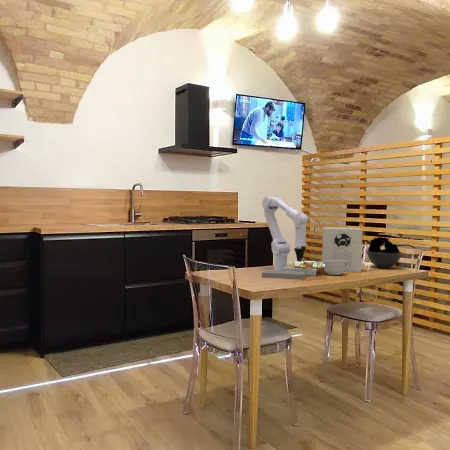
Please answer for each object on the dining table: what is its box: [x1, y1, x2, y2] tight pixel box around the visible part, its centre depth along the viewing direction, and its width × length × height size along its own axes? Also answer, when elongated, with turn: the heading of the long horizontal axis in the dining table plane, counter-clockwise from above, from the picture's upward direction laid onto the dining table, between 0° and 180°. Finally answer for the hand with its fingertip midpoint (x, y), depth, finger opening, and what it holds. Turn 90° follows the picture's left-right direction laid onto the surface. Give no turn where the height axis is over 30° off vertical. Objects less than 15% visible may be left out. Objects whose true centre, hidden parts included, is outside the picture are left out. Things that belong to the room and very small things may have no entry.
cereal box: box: [321, 226, 363, 273], centre depth 274 cm, size 22×8×25 cm, turn 84°
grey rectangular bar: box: [283, 267, 318, 276], centre depth 260 cm, size 18×5×3 cm, turn 75°
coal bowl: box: [366, 236, 402, 269], centre depth 288 cm, size 20×20×19 cm
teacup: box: [324, 260, 348, 276], centre depth 260 cm, size 14×11×8 cm
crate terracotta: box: [304, 262, 314, 270], centre depth 259 cm, size 4×4×3 cm
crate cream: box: [287, 261, 296, 269], centre depth 261 cm, size 4×4×3 cm
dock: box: [261, 269, 307, 280], centre depth 250 cm, size 11×22×2 cm, turn 75°
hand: (300, 260), depth 260 cm, fingers open, 7 cm apart
